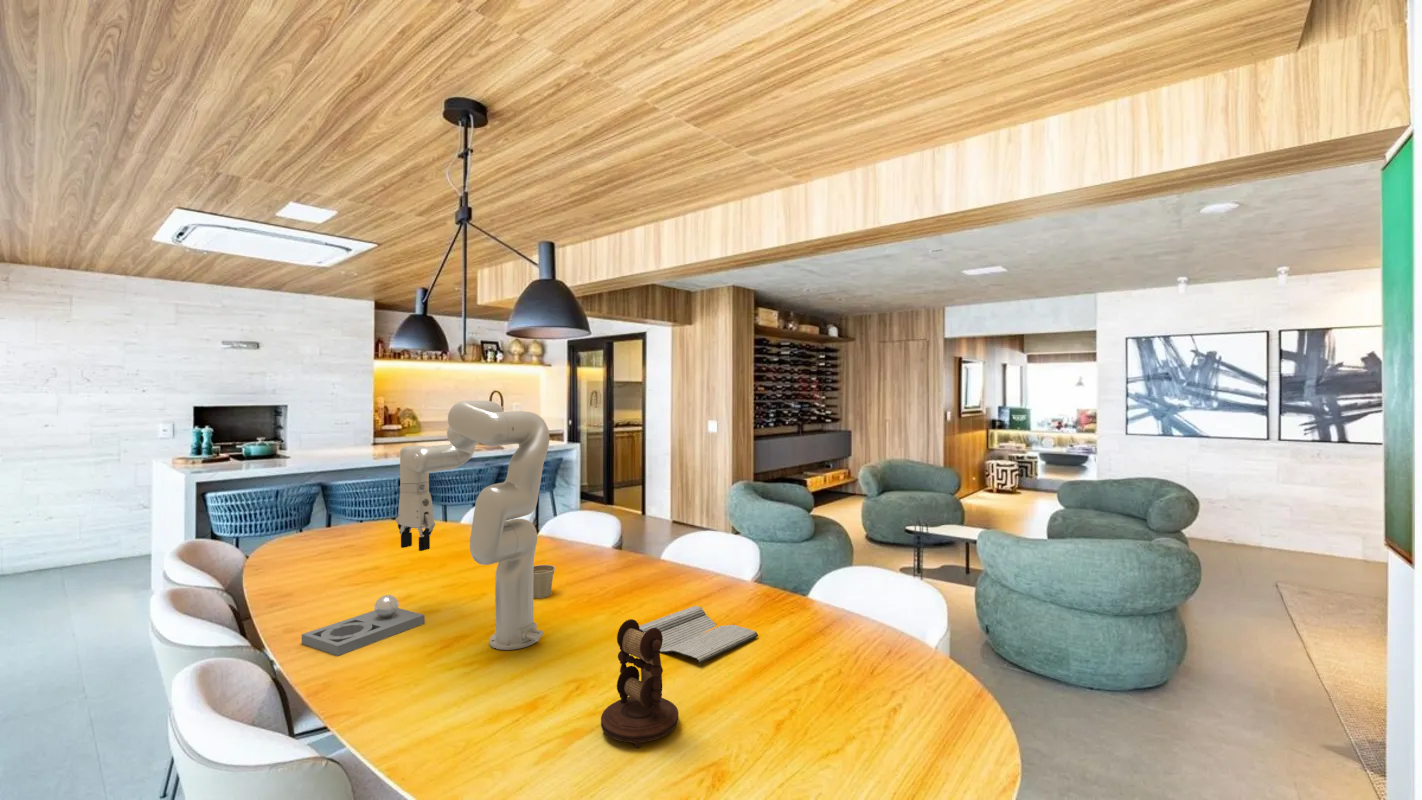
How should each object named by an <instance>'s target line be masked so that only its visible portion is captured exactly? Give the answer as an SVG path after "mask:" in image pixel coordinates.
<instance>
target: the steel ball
mask: <svg viewBox="0 0 1422 800" xmlns="http://www.w3.org/2000/svg"><path fill="white" fill-rule="evenodd" d="M398 608H399V601H398V599H397V598H396V596H395V595H392V594H385V595H382V596H380V597H379V598H378V599H377V600H376V601H375V603H374V607H373V611H375V613H376V614H377V615H378V616H380V617H383V618H386V617H390V616H392V615H393V614H395V612H396V611H397V609H398Z"/></svg>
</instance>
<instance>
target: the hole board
mask: <svg viewBox="0 0 1422 800" xmlns="http://www.w3.org/2000/svg"><path fill="white" fill-rule="evenodd" d="M424 623H425V614H423V613H419V612H415V611H411V610H407V609H403V608H400V607H398V609H397V611H396V612H395V614H393V615H392V616H390V617H386V618H383V617H380V616H378V615H377V614H376V613H375V610H373V611H369V612H366V613H363V614H360V615H357V616H354V617H351V618H347V619H344V620H342V621H338V622H335V623H332V624H328V625H325V626H323V627H319V628H316V629H313V630H311V631H307V632H304V633H301V645H303V646H307V647H309V648H313V649H316V650H318V651H321V652H324V653H327V654H331V655H333V656H336V657H339V656H342V655H345V654H347V653H350V652H352V651H355V650H357V649H361V648H363V647H366V646H369V645H371V644H374V643H377V642H379V641H382V640H385V639H387V638H390V637H393V636H395V635H398V634H401V633H403V632H406V631H409V630H411V629H414V628H417V627H419V626H422V625H424ZM421 624H422V625H421ZM416 626H417V627H416ZM408 629H409V630H408Z"/></svg>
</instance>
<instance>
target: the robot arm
mask: <svg viewBox="0 0 1422 800" xmlns="http://www.w3.org/2000/svg"><path fill="white" fill-rule="evenodd" d="M447 422H448V428H447V431H446V435H447V439H448V441H449V442H450V444H449V443H448V444H442V445H441V444H440V445H431V446H429V445H427V446H425V445H407V446H403V447H401V449H400V451H399V452H400V453H399V460H400V461H399V470H400V471H399V473H400V474H399V475H400V476H399V479H400V480H399V481H400V486H399V487H400V490H399V491H400V494H399V495H400V496H399V501H398V516H397V517H396V518H395V522H396V523H397V528H398V529H399V534H400V548H401V549H405V548H409V547H412V546H413V532H412V531H411V530H412V528H413V529H417V530H418V534H419V537H418V551H419V552H423V551H427V550H430V548H431V545H430V544H431V538H430V537H431V535H432V533H433V530H434V528H435V526H436V522H435V521H434V509H433V501H432V496H431V492H430V478H429V477H430V473H435V472H436V473H437V472H442V471H443V472H444V471H451V470H455V469H457V468H459V467H461V466H462V465H464V464H465V463H467V462H468V461H469V460H470V459H471V458H472V457H473V455H474V453H475V449H476V445H477V444H480V445H481V444H482V445H484V446H490V447H497V446H498V447H499V446H508V445H518V448H517V449H516V450H515V452H514V453H513V455H512V456H511V458H510V460H509V463H508V466H507V474H506V477H505V480H504V481H503V482H498V483H493V484H490V485H487V486H486V487H484V488H483V489H482V490H481V491H480V492H479V494H478V496H477V498H476V501H475V505H474V510H473V517H472V523H471V524H472V525H471V530H470V537H469V538H470V539H469V550H470V555H471V557H472V559H473V560H474V561H475V562H476V563H478V565H482V566H486V565H487V566H489V565H493V564H497V567H496V570H495V577H494V579H495V581H494V582H495V583H494V584H495V585H494V590H495V591H494V593H495V594H494V595H495V598H494V599H495V601H494V602H495V606H494V607H495V608H494V610H495V614H494V615H495V632H494V633H493V634H492V635H490V637H489V641H488V644H489V646H490V647H491V648H493V649H495V648H496V649H495V650H501V651H503V650H504V651H510V650H520V649H523V648H527V647H529V646H532V645H534V644H535V643H537V642H539V641H540V640H541V637H542V636H543V635H544V631H543V630H541V629H537V622H534V621H535V619H534V616H535V615H534V598H533V568H534V566H535V565H534V564H535V554H536V549H537V544H538V543H537V542H538V532H537V528H536V527H535V525H534V524H533V522H531V521H530V520H528V519H525V518H524V517H525V516H528V515H530V514H532V513H533V512H534V511H535V510H536V507H537V504H538V499H539V494H540V487H541V481H542V475H543V469H544V463H545V462H546V457H547V453H548V450H549V447H550V446H549V445H550V431H549V428H548V425H547V423H546V421H545V420H544V419H543V418H542V416H540V415H539V414H537V413H535V412H531V411H526V410H525V411H523V410H521V411H519V410H517V411H515V410H514V411H511V410H510V411H504V409H503V408H502V407H501V405H500V404H498V403H497V402H494V401H492V400H463V401H459V402H457V403H455V404H454V405H452V406H451V408H450V409H449V412H448V414H447ZM522 517H523V518H522Z"/></svg>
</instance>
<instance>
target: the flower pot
mask: <svg viewBox="0 0 1422 800" xmlns="http://www.w3.org/2000/svg"><path fill="white" fill-rule="evenodd" d="M556 568H557V567H556V566H554V565H550V564H538V565H534V568H533V599H535V598H536V599H545V597H546V598H548V597H549V596H551V595H552V588H553V587H552V586H553V579H554V575H555V571H556Z"/></svg>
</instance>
